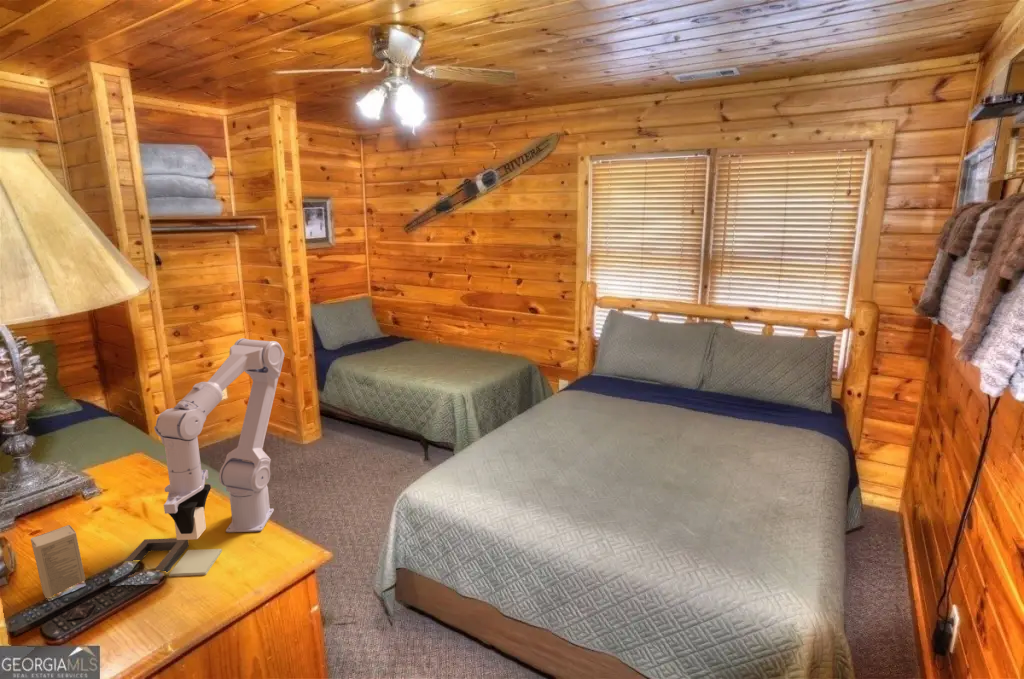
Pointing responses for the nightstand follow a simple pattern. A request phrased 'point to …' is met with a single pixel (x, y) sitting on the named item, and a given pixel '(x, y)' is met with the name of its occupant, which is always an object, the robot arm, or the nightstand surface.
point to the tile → (196, 562)
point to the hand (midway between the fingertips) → (192, 526)
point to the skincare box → (58, 560)
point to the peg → (198, 526)
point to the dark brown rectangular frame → (171, 545)
